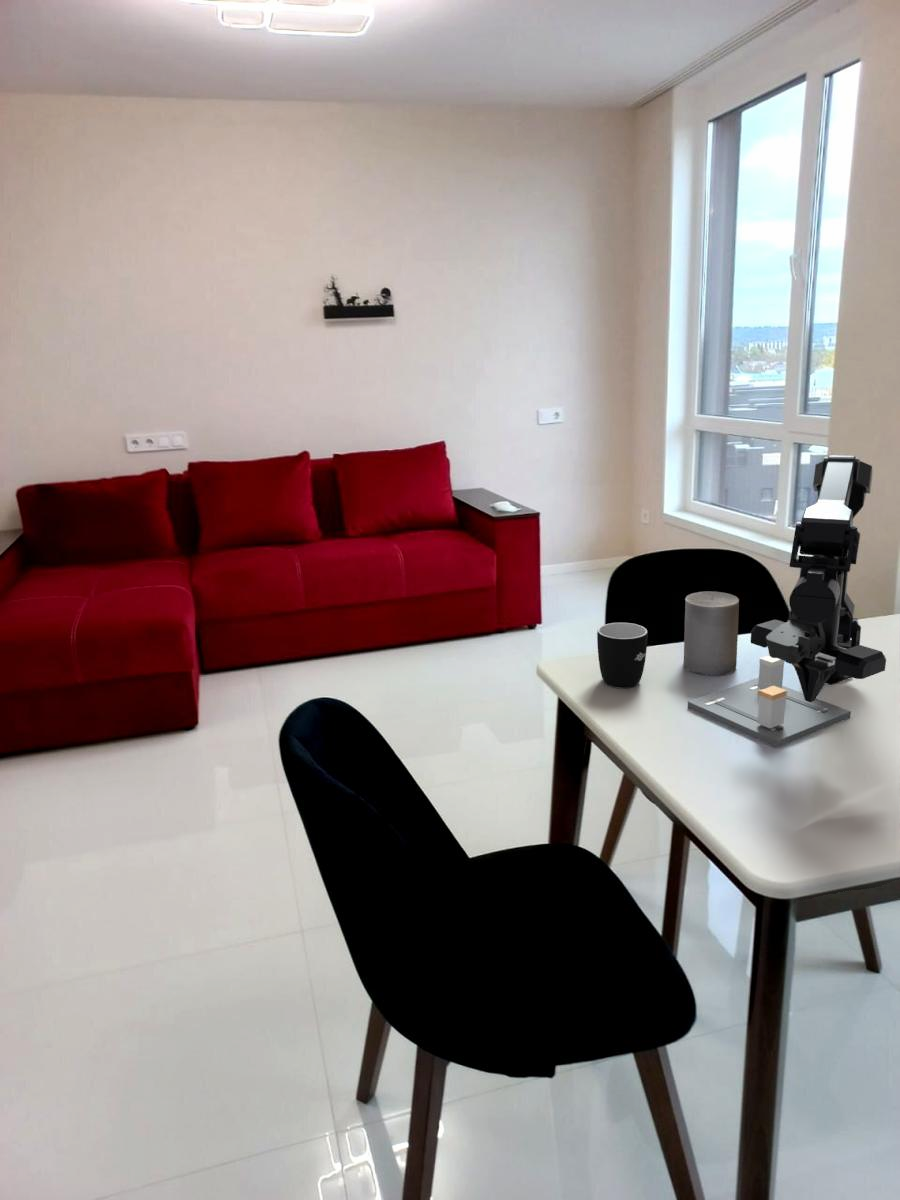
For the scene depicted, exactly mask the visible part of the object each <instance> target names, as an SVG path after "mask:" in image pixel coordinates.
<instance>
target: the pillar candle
mask: <svg viewBox="0 0 900 1200" xmlns="http://www.w3.org/2000/svg"><path fill="white" fill-rule="evenodd" d="M684 600H685V604H684V609H685V612H684V634H683V635H684V636H683V637H684V638H683V639H684V640H683V643H684V644H683V667H684V668H685V669H686V670H687V671H688V672H691V673H694V674H695V673H696V674H702V675H707V676H724V675H728V674H731V673H733V672H734V671H736V668H737V662H738V661H737V658H738V640H739V639H738V638H739V634H738V633H739V614H740V612H739V611H740V610H739V609H740V608H739V607H740V605H739V604H740V599H739V598H738V597H737V596H736V595H733V594H731V593H727V592H723V591H722V592H721V591H709V590H708V591H706V590H705V591H698V592H693V593H692V592H691V593H690V594H688V595H686V597H685V598H684Z"/></svg>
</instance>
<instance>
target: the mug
mask: <svg viewBox="0 0 900 1200" xmlns="http://www.w3.org/2000/svg"><path fill="white" fill-rule="evenodd" d="M596 638H597V641H596V644H597V654H598V655H597V656H598V663H599V664H598V665H599V671H600V675H601V678H602V680H603V681H604V684H606V685H607V686H609V687H612V688H616V689H628V688H634V687H636V686H637V685H638V684H639V683H640V681H641V679H642V676H643V674H644V670H645V662H646V659H647V658H646V657H647V648H648V630H647V628H645V627H644V626H642V625H639V624H636V623H630V622H611V623H607V624H603V625H600V626H599V627H598V628H597V633H596Z"/></svg>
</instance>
